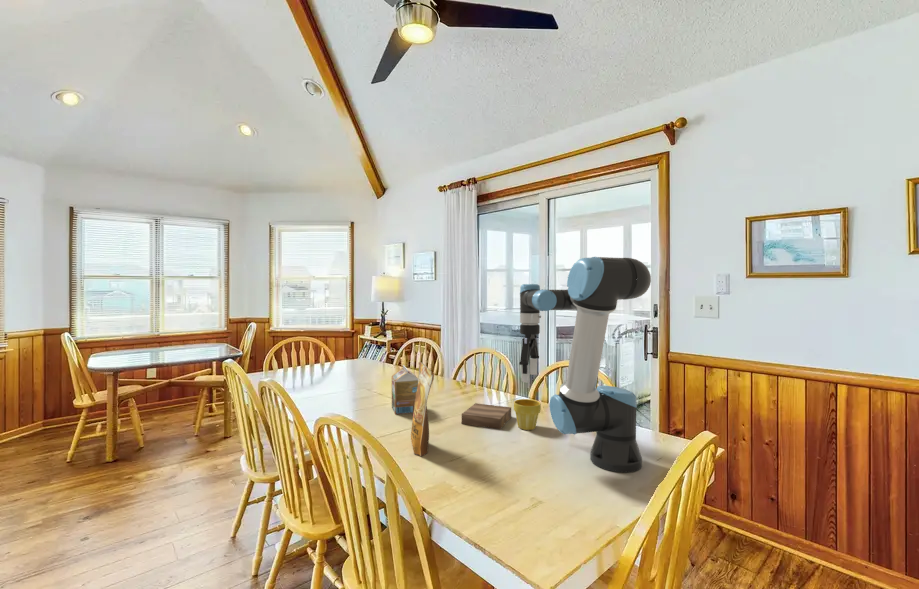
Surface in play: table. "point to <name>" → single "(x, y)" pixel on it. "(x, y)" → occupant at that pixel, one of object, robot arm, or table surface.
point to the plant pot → (527, 413)
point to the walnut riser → (486, 416)
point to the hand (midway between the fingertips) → (529, 378)
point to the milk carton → (404, 391)
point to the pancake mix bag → (421, 412)
